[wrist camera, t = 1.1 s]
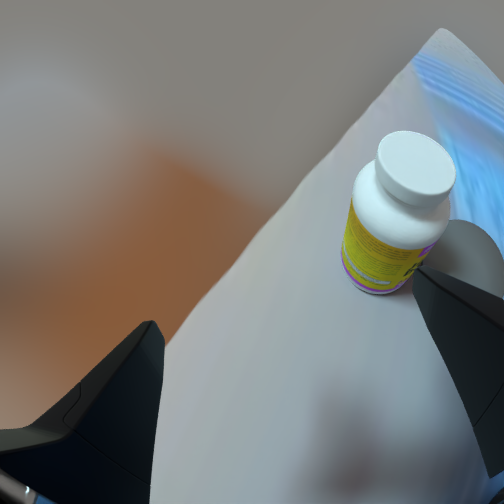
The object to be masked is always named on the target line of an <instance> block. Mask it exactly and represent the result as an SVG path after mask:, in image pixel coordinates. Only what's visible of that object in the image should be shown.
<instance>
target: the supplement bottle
mask: <svg viewBox="0 0 504 504" xmlns="http://www.w3.org/2000/svg"><path fill="white" fill-rule="evenodd" d="M455 180H456V169H455V165H454V163H453V161H452V159H451V157H450V155H449V154H448V153H447V151H446V150H445V149H444V148H443V147H442V146H441V145H439V144H438V143H437V142H436V141H434V140H433V139H431V138H429V137H427V136H425V135H423V134H419V133H416V132H411V131H397V132H393V133H390V134H388V135H387V136H385V137H384V138H383V139H382V141H381V142H380V144H379V146H378V150H377V154H376V158H375V160H373V161H371V162H370V163H368V164H367V165H366V166H365V167H364V168H363V169H362V170H361V171H360V172H359V174H358V176H357V178H356V180H355V183H354V187H353V192H352V198H351V204H350V210H349V215H348V220H347V224H346V229H345V234H344V238H343V243H342V248H341V264H342V267H343V270H344V272H345V274H346V276H347V277H348V279H349V280H350V281H351V282H352V283H353V284H354V285H355V286H356V287H358V288H359V289H361V290H363V291H366V292H368V293H372V294H386V293H390V292H393V291H395V290H397V289H398V288H400V287H401V286H402V285H403V284H404V283H405V282H406V281H407V280H408V279H409V277H410V276H411V275H412V274H413V272H414V270H415V268H417V267H418V266H419V265H420V263H421V262H422V261H423V259H424V258H425V257H426V255H427V254H428V253H429V251H430V250H431V249H432V247H433V246H434V245H435V243H436V242H437V241H438V239H439V238H440V236H441V235H442V234H443V232H444V230H445V229H446V227H447V224H448V222H449V218H450V201H449V196H448V195H449V193H450V191H451V189H452V187H453V185H454V183H455Z"/></svg>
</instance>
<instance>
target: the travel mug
mask: <svg viewBox="0 0 504 504" xmlns="http://www.w3.org/2000/svg"><path fill="white" fill-rule="evenodd" d="M503 500H504V488H503V489H502V490H501V491H500V492H498V494H497V495H496V496H495V497H494V498H493V499H492V501H491V502H490V503H489V504H498V503H500V502H501V501H503Z"/></svg>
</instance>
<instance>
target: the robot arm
mask: <svg viewBox="0 0 504 504" xmlns="http://www.w3.org/2000/svg"><path fill="white" fill-rule="evenodd" d="M412 290H413V294H414V297H415V299H416V301H417V304H418V306H419V308H420V311H421V313H422V316H423V318H424V321H425V323H426V326H427V328H428V330H429V332H430V334H431V336H432V338H433V340H434V342H435V344H436V346H437V348H438V350H439V352H440V354H441V356H442V358H443V360H444V362H445V364H446V366H447V368H448V370H449V372H450V375H451V377H452V379H453V381H454V383H455V386H456V388H457V390H458V393H459V395H460V397H461V400H462V402H463V404H464V407H465V409H466V412H467V414H468V417H469V419H470V422H471V425H472V427H473V430H474V433H475V436H476V439H477V441H478V444H479V447H480V450H481V453H482V456H483V459H484V463H485V466H486V469H487V473H488V476H489V478H490V479H491V478H492V477H494V476H496V475H497V474H499V473H500V472H502V471H503V470H504V300H503V299H502V298H500V297H498V296H496V295H494V294H491V293H489V292H487V291H485V290H482V289H480V288H478V287H476V286H473V285H471V284H469V283H466V282H464V281H462V280H460V279H457V278H455V277H453V276H450V275H448V274H445V273H443V272H441V271H438V270H436V269H433V268H431V267H429V266H426V265H424V266H420V267H417V268H415V270H414V276H413V286H412ZM164 351H165V340H164V337H163V335H162V333H161V331H160V329H159V328H158V326H157V324H156V322H155V321H153V320H151V321H144V322H142V323H141V324H140V325H139V326H138V327H137V328H136V329H135V330H133V331H132V332H131V333H130V334H129V335H128V336H127V337H126V338H125V339H124V340H123V341H122V342H121V343H120V344H119V345H117V346H116V347H115V348H114V349H113V350H112V351H111V352H110V353H109V354H108V355H107V356H106V357H105V358H104V359H103V360H102V361H101V362H100V363H98V365H96V366H95V367H94V368H93V369H92V370H91V371H90V372H89V373H88V374H87V375H86V376H85V377H84V378H83V379H82V380H81V382H79V383H78V384H77V385H76V386H75V387H74V388H72V389H71V390H70V391H69V392H68V393H67V394H66V395H65V396H64V397H63V398H62V399H60V400H59V401H58V402H57V403H56V404H55V405H53V406H52V407H51V408H50V409H49V410H47V411H46V412H45V413H44V414H43V415H42V416H40V417H39V418H38V419H37V420H36V421H34V422H33V423H32V424H30V425H28V426H26V427H23V428H17V429H3V430H0V504H149V501H150V485H151V474H152V463H153V453H154V444H155V435H156V427H157V419H158V412H159V405H160V398H161V391H162V384H163V372H164ZM498 504H504V500H503V501H501V502H500V503H498Z"/></svg>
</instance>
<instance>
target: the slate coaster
mask: <svg viewBox="0 0 504 504" xmlns="http://www.w3.org/2000/svg"><path fill="white" fill-rule="evenodd" d="M424 265H426V266H429V267H431V268H433V269H436V270H438V271H441V272H443V273H445V274H448V275H450V276H453V277H455V278H457V279H460V280H462V281H464V282H466V283H469V284H471V285H473V286H476V287H478V288H480V289H482V290H485V291H487V292H489V293H491V294H494V295H496V296H498V297H500V298H502V297H503V295H504V260H503V258H502V255H501V253H500V250H499V248H498V247H497V245H496V243H495V242H494V241H493V239H492V238H491V237H490V236H489V235H488V234H487V233H486V232H485V231H484V230H483V229H481V228H480V227H478V226H477V225H475V224H473V223H471V222H468V221H464V220H449V222H448V224H447V227H446V229H445V230H444V232H443V234H442V235H441V236H440V238H439V239H438V241H437V242H436V243H435V245H434V246H433V247H432V249H431V250H430V251H429V253H428V254H427V255H426V257H425V258H424V259H423V261H422V266H424Z"/></svg>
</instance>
